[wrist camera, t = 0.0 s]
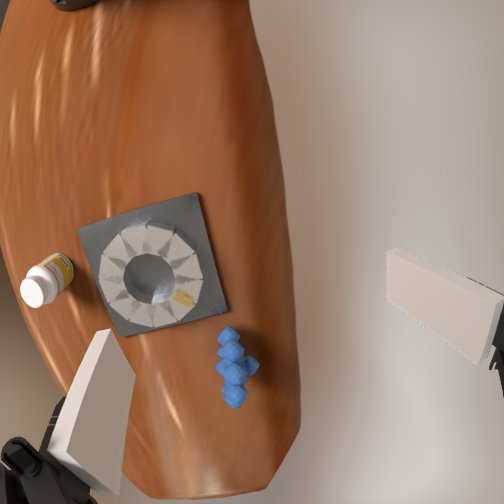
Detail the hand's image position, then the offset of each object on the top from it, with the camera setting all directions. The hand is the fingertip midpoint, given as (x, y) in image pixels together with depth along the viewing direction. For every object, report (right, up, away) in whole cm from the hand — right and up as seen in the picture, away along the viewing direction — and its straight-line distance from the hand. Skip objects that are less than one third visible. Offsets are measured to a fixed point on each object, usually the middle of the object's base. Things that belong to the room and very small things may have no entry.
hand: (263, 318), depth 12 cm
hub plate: (-15, 0, +26) cm, 30 cm away
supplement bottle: (-30, 0, +23) cm, 38 cm away
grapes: (-4, -13, +33) cm, 35 cm away
